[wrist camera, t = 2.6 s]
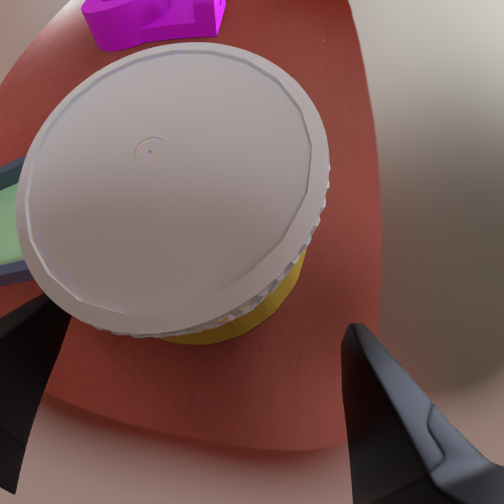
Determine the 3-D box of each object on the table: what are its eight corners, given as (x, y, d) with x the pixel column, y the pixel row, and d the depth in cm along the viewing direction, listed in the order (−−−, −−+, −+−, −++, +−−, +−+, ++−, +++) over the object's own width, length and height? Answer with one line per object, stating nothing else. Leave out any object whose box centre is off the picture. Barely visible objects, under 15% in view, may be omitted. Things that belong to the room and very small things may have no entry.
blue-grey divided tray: (162, 257, 19) (148, 246, 17) (-17, 289, 19) (-38, 283, 16) (156, 136, 22) (146, 113, 19) (-8, 191, 21) (-25, 180, 18)
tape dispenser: (85, 57, 25) (67, 22, 19) (113, 16, 27) (101, -16, 21) (216, 40, 25) (211, -7, 19) (226, 2, 27) (224, -36, 21)
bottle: (174, 227, 20) (60, 59, 5) (277, 228, 20) (327, 35, 5) (168, 330, 18) (-18, 331, 4) (277, 334, 18) (370, 369, 4)
